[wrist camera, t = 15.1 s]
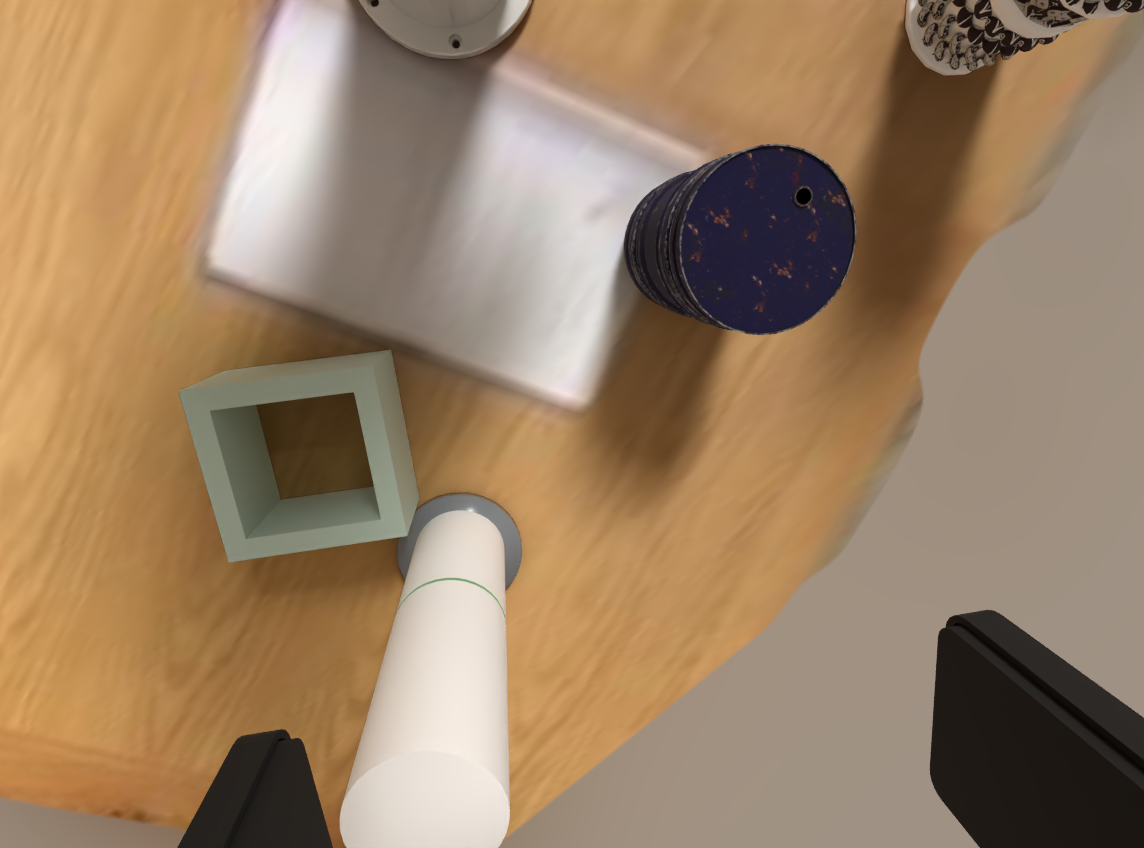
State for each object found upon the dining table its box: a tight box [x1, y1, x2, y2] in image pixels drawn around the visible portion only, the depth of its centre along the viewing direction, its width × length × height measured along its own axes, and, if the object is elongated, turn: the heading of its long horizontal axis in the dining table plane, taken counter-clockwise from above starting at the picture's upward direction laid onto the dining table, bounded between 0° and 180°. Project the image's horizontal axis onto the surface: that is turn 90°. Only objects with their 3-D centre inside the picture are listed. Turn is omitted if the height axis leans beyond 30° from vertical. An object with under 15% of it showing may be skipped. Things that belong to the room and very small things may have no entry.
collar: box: [179, 350, 420, 562], centre depth 44 cm, size 12×12×7 cm
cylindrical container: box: [340, 510, 510, 848], centre depth 39 cm, size 7×7×25 cm
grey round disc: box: [397, 493, 522, 590], centre depth 51 cm, size 10×10×1 cm
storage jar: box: [624, 144, 856, 335], centre depth 40 cm, size 10×10×15 cm
